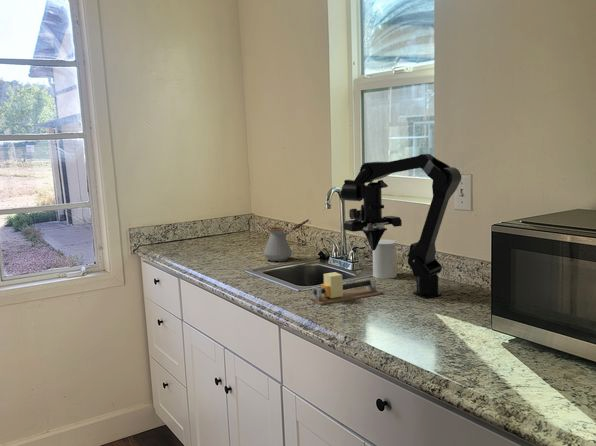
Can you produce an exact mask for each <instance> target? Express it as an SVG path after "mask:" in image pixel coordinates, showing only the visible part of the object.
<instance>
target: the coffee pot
mask: <svg viewBox="0 0 596 446" xmlns="http://www.w3.org/2000/svg"><path fill="white" fill-rule="evenodd" d="M306 223H308V224H311V223H312V222H311V221H310V219H306V220H303V222H300V223H298V224H297V225H295V226H293V228H291V229H289V230H287V231H286V232H284V231H285V229H286V228H285V227H283V226H282V227H281V226H279V227H278V226H277V227H276V226H275V227H271V228H270V227H269V228H268V230H269V232H270V234H269V238H268V240H267V243H266V245H265V249H264V251H263V255H264V257H265V258H266V259H268V261H269V260H270V261H269V262H275V261H278V262H285V261H287V260H288V259H289V258H290V257H291V256H292V254H293V251H292V249H291V246H290V244H289V242H288V241H287V238H286V236H287V235H288V234H289V233H291V232H293V231H296V230H298V229H299V228H301V227H302V226H303V225H305V224H306Z"/></svg>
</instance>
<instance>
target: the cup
mask: <svg viewBox="0 0 596 446" xmlns="http://www.w3.org/2000/svg"><path fill="white" fill-rule="evenodd" d="M397 263H398V262H397V241H396V240H394V239H380V241H379V243H378V245H377V247H376V250H372V277H373V278H376V279H382V280H383V279H385V280H386V279H388V280H389V279H394V278H396V277H397V274H398V272H397V268H398V267H397Z"/></svg>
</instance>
